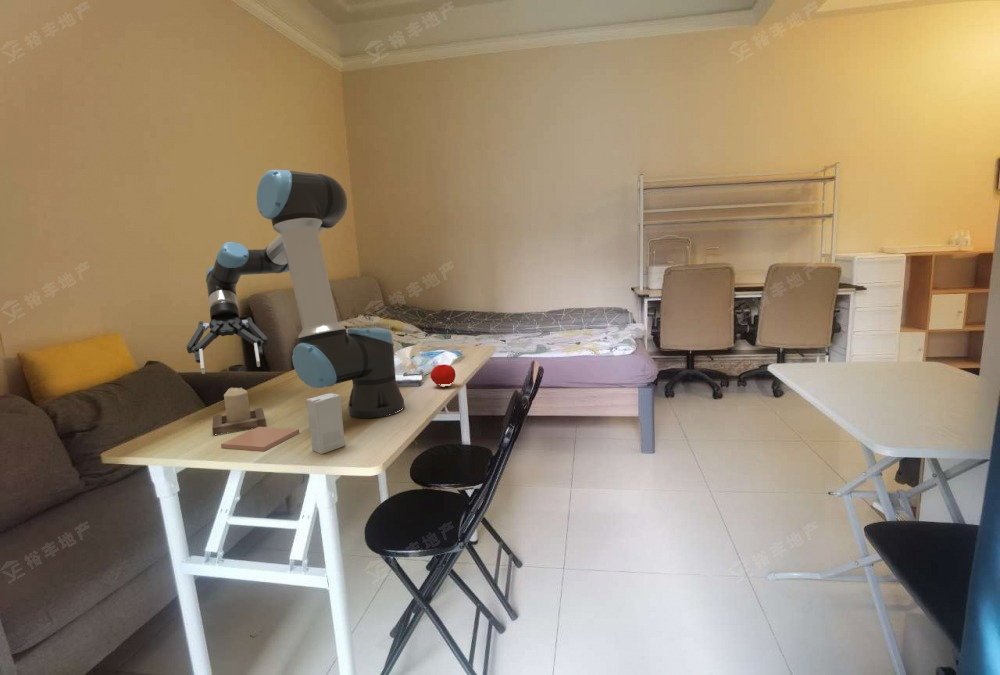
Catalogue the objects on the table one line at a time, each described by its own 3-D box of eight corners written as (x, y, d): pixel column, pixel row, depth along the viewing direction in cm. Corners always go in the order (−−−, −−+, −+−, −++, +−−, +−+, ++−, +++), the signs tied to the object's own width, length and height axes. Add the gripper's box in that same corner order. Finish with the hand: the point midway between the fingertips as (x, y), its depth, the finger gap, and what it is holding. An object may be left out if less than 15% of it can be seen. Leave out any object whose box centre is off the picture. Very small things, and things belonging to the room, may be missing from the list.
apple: (427, 389, 160) (426, 366, 159) (437, 383, 168) (435, 361, 167) (451, 390, 158) (449, 367, 157) (459, 384, 165) (458, 361, 164)
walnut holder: (263, 414, 141) (262, 407, 141) (266, 426, 131) (265, 418, 130) (214, 422, 136) (213, 415, 135) (213, 435, 125) (212, 428, 125)
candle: (255, 421, 136) (251, 385, 134) (243, 428, 130) (238, 390, 129) (236, 421, 136) (231, 385, 135) (223, 428, 131) (218, 390, 129)
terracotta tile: (299, 432, 124) (299, 429, 124) (264, 451, 113) (263, 447, 113) (259, 430, 128) (259, 426, 128) (221, 447, 116) (220, 443, 116)
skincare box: (335, 442, 117) (330, 391, 115) (346, 446, 114) (341, 394, 112) (310, 451, 112) (305, 398, 110) (321, 455, 109) (315, 401, 107)
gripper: (270, 313, 158) (280, 368, 148) (176, 321, 147) (180, 381, 136) (269, 297, 153) (280, 353, 142) (172, 304, 141) (176, 365, 131)
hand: (231, 367), depth 139 cm, fingers open, 13 cm apart
